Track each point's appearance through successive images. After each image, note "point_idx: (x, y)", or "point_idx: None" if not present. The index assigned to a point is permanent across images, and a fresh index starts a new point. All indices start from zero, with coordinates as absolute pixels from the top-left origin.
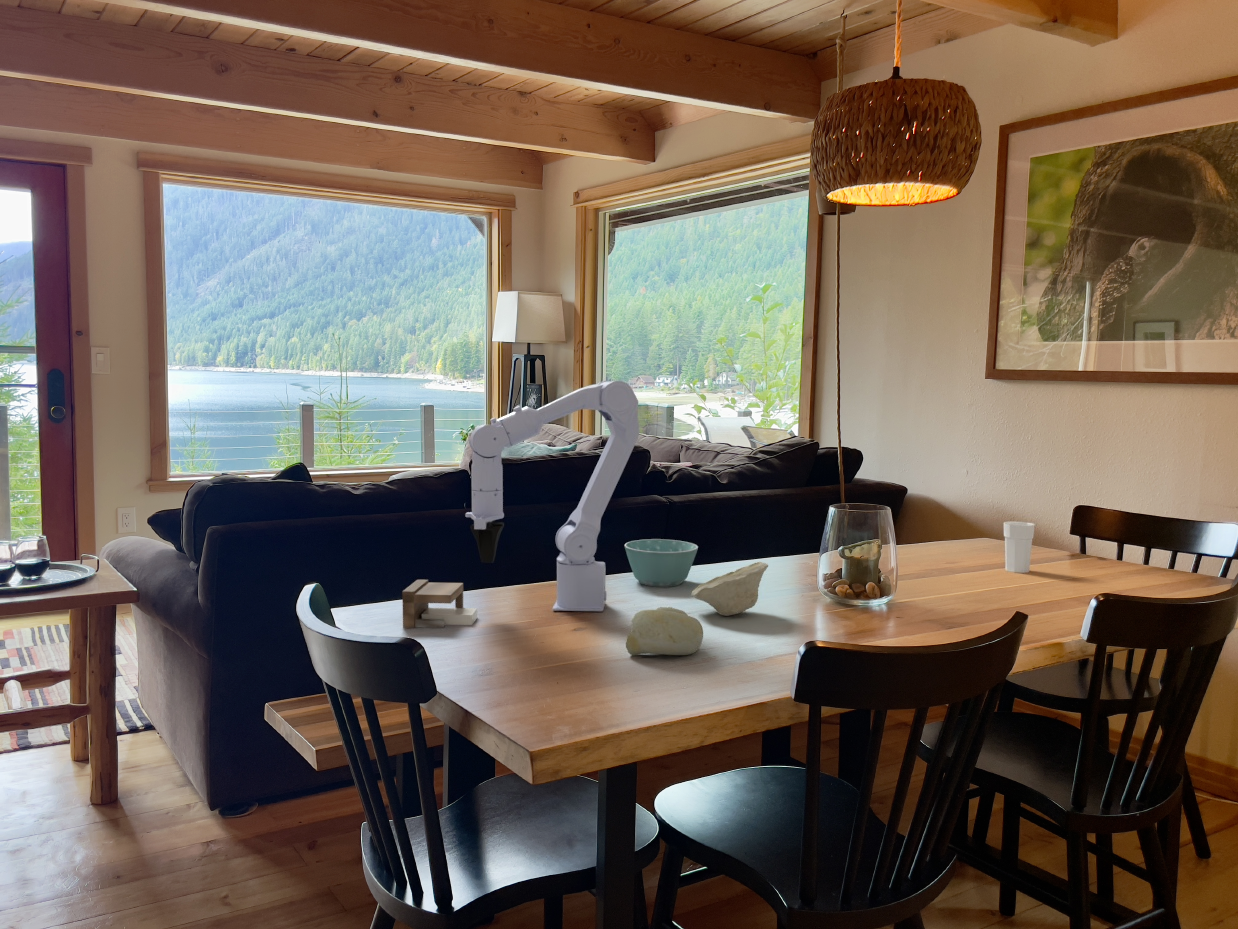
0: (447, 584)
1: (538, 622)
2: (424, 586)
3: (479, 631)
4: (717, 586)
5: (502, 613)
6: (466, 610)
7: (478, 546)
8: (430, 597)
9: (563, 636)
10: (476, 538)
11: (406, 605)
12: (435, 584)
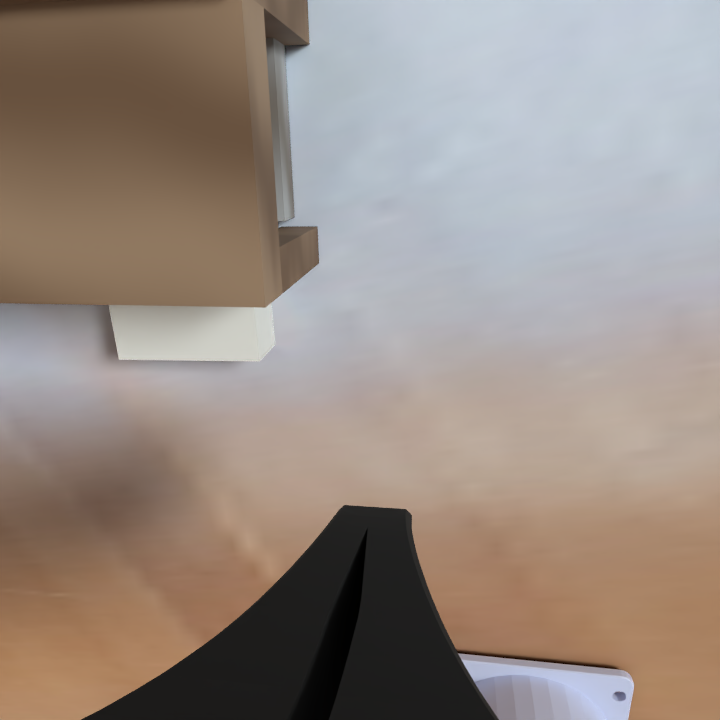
0: (193, 196)
1: (240, 599)
2: (80, 11)
3: (49, 394)
4: None
5: (381, 449)
6: (201, 314)
7: (263, 600)
8: None
9: (70, 674)
10: (171, 679)
11: None
12: (175, 89)
